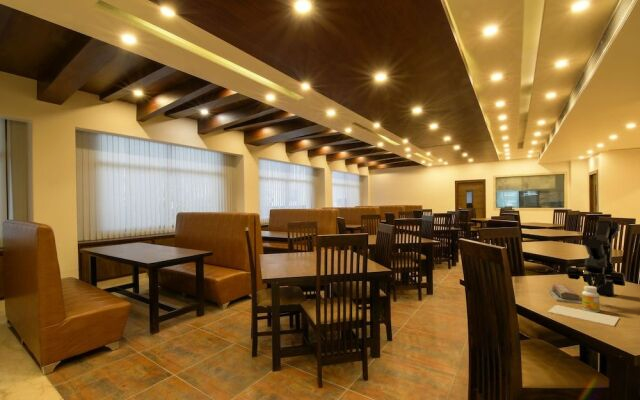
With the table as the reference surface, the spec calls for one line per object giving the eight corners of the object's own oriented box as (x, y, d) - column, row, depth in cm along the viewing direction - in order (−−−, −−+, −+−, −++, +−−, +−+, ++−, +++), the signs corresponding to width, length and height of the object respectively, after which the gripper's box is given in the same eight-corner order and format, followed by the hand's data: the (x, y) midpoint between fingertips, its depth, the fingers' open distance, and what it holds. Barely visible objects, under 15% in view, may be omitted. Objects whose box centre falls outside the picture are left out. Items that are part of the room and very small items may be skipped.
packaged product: (547, 282, 155) (572, 284, 150) (547, 291, 155) (572, 294, 150) (556, 291, 139) (583, 294, 134) (556, 302, 139) (584, 305, 134)
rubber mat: (556, 305, 133) (556, 304, 133) (619, 318, 118) (619, 317, 118) (547, 312, 126) (547, 311, 126) (613, 326, 110) (613, 325, 110)
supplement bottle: (579, 308, 129) (578, 285, 130) (590, 307, 130) (589, 284, 130) (591, 312, 124) (590, 289, 124) (603, 312, 124) (602, 288, 125)
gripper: (566, 249, 140) (560, 277, 133) (623, 253, 125) (619, 285, 118) (571, 264, 145) (566, 291, 137) (626, 270, 130) (623, 301, 123)
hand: (591, 292), depth 129 cm, fingers closed
